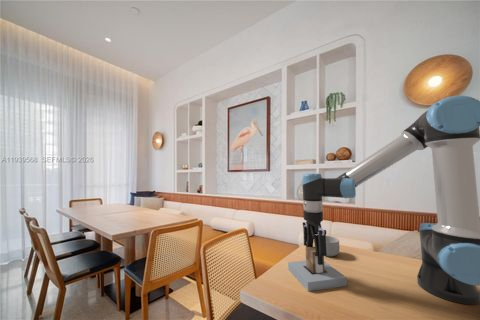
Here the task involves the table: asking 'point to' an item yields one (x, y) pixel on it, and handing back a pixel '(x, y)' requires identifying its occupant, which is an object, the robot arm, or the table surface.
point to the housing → (317, 276)
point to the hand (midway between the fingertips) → (315, 268)
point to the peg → (311, 259)
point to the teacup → (332, 246)
